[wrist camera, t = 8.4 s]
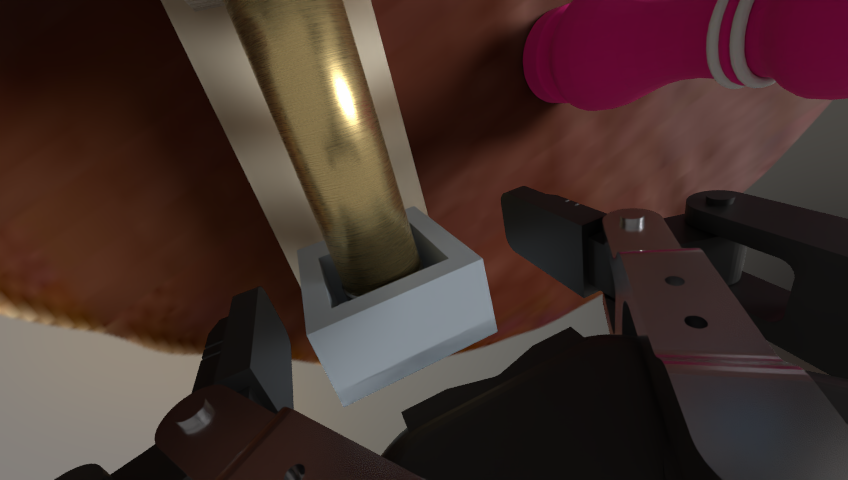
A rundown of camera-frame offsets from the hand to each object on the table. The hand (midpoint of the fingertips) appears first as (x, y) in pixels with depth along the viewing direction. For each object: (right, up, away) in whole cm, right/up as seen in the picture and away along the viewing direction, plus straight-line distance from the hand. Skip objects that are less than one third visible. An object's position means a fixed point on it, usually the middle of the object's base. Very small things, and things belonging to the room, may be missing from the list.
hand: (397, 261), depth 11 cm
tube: (-4, +7, +7) cm, 10 cm away
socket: (-3, 0, +14) cm, 14 cm away
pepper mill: (+11, +14, +15) cm, 23 cm away
